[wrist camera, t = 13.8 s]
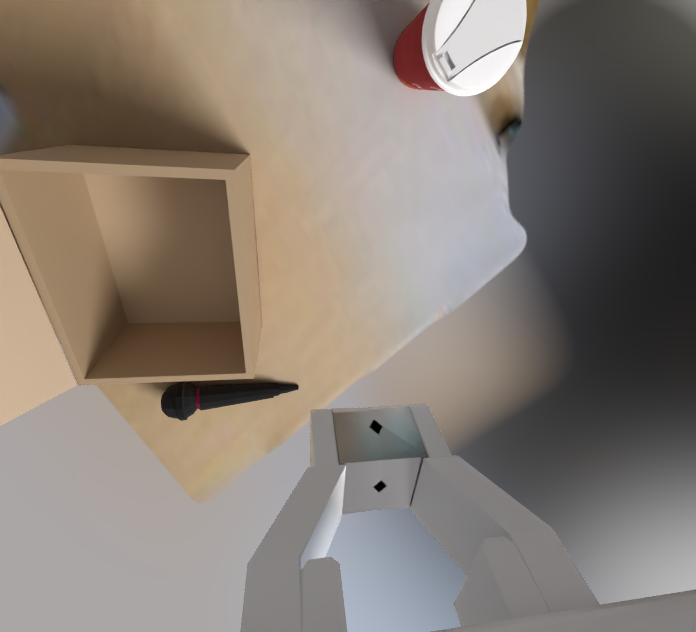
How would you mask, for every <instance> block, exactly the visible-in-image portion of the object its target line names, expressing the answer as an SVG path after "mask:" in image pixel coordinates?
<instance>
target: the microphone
mask: <svg viewBox="0 0 696 632" xmlns="http://www.w3.org/2000/svg"><path fill="white" fill-rule="evenodd" d="M294 390H298V385H278V384H273V383H262V384H244V385H226V386H207V387H199V388H198V389H195V388H194V387H193V386H192V385H190V384H187V383H186V381H179V383H178V384H175V385H172V386H170V387H168V388H167V389H166V391H165V392H164V393H163V395H162V398H161V408H162V411H163V412H164V413H165V414H166V415H167V416H168V417H172V418H178V419H179V420H181V421H182V420H187V418H188V417H189V416H191V415H192V414H193V413H194V412H195V411H196V410H197V408H198V409H200V410H206V409H212V408H217V407H223V406H229V405H234V404H240V403H246V402H251V401H257V400H262V399H268V398H274V396H278V395H279V394H282V393H287V392H290V391H294Z"/></svg>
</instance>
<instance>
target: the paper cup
mask: <svg viewBox="0 0 696 632" xmlns="http://www.w3.org/2000/svg"><path fill="white" fill-rule="evenodd" d="M525 26H526V0H431V1H430V3H429V4H428V5H427V6H426V7H425V8H424V9H423V10H422V11H421V12H420V13H419V14H418V15H417V16H416V18H415V19H414V20H413V21H412V22H411V23H410V24H409V25H408V26H407V28H406V29H405V30H404V31H403V32H402V34H401V35H400V37H399V39H398V41H397V43H396V46H395V49H394V56H393V62H394V68H395V72H396V74H397V76H398V78H399V79H400V81H401V82H402V83H403V84H405V85H406V86H408V87H410V88H413V89H419V90H437V91H446V92H449V93H451V94H453V95H458V96H470V95H476V94H478V93H481V92H483V91H485V90H487V89H488V88H490V87H491V86H493V85H494V84H495V83H496V82H498V80H499V79H500V78H501V77H502V76H503V75H504V74H505V73H506V71H507V70H508V69H509V67H510V66H511V64H512V63H513V61H514V60H515V58H516V56H517V55H518V52H519V50H520V48H521V46H522V43H523V41H522V40H523V38H524V32H525Z"/></svg>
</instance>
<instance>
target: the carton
mask: <svg viewBox="0 0 696 632" xmlns="http://www.w3.org/2000/svg"><path fill="white" fill-rule="evenodd" d="M0 202H1V205H2V207H3V209H4V212H5V214H6V217H7V219H8V221H9V224H10V226H11V228H12V231H13V233H14V235H15V238H16V240H17V242H18V245H19V247H20V249H21V252H22V254H23V256H24V259H25V261H26V264H27V266H28V268H29V271H30V273H31V275H32V278H33V280H34V282H35V285H36V287H37V289H38V292H39V294H40V296H41V299H42V301H43V303H44V306H45V308H46V311H47V313H48V315H49V318H50V320H51V322H52V325H53V327H54V329H55V332H56V334H57V336H58V339H59V341H60V343H61V346H62V348H63V350H64V353H65V355H66V357H67V360H68V362H69V364H70V367H71V369H72V371H73V374H74V376H75V379H76V381H77V383H78V385H101V384H127V383H153V382H179V381H205V380H231V379H254V375H255V368H256V361H257V354H258V347H259V341H260V334H261V327H262V316H261V302H260V287H259V273H258V259H257V244H256V230H255V216H254V202H253V187H252V173H251V159H250V154H232V153H214V152H196V151H178V150H160V149H142V148H124V147H106V146H88V145H64V146H57V147H51V148H44V149H37V150H30V151H23V152H16V153H10V154H3V155H0Z"/></svg>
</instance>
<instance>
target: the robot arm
mask: <svg viewBox="0 0 696 632" xmlns="http://www.w3.org/2000/svg"><path fill="white" fill-rule="evenodd" d="M409 507H411V508H410V510H411V511H412V512H413V513H414V515H415V516H416V517H417V518H418V519H419V520H420V522H421V523H422V524H423V525H424V526H425V527H426V529H427V530H428V531H429V532H430V533H431V534H432V536H433V537H434V538H435V539H436V540H437V542H438V543H439V544H440V545H441V546H442V547H443V549H444V550H445V551H446V552H447V553H448V554H449V555H450V557H451V558H452V559H453V560H454V561H455V563H456V564H457V565H458V566H459V567H460V568H461V570H462V571H463V572H464V573H465V574H466V575H467V577H466V579H465V581H464V584H463V585H462V587H461V590H460V592H459V594H458V596H457V598H456V600H455V602H454V606H455V608H456V612H457V615H458V618H459V621H460V624H461V627H457V628H451V629H444V630H438V631H431V632H696V590H690V591H684V592H677V593H671V594H664V595H659V596H652V597H646V598H640V599H633V600H627V601H621V602H615V603H608V604H602V605H600V604H599V602H598V601H597V599H596V597H595V596H594V594H593V593H592V591H591V590H590V588H589V586H588V585H587V583H586V581H585V580H584V578H583V577H582V575H581V573H580V572H579V570H578V569H577V567H576V565H575V564H574V562H573V561H572V559H571V557H570V556H569V554H568V553H567V551H566V550H565V548H564V546H563V545H562V543H561V541H560V540H559V538H558V536H557V535H556V533H555V532H554V530H553V529H552V528H551V527H550V526H548V525H547V524H546V523H544V522H543V521H542V520H541V519H539V518H538V517H537V516H535V515H534V514H532V513H531V512H530V511H529V510H527V509H526V508H525V507H524V506H522V505H521V504H520V503H518V502H517V501H516V500H514V499H513V498H512V497H511V496H509V495H508V494H507V493H506V492H504V491H503V490H502V489H500V488H499V487H498V486H496V485H495V484H494V483H493V482H491V481H490V480H489V479H487V478H486V477H485V476H484V475H482V474H481V473H479V472H478V471H477V470H476V469H474V468H473V467H472V466H471V465H469V464H468V463H467V462H465V461H464V460H463V459H461V458H460V457H459V456H452V455H451V454H450V451H449V449H448V447H447V445H446V443H445V440H444V439H443V436H442V434H441V432H440V430H439V428H438V426H437V423H436V421H435V419H434V417H433V415H432V413H431V411H430V409H429V407H428V405H426V404H410V405H395V406H379V407H369V408H338V409H316V410H311V415H310V467H308V468H307V470H306V471H305V473H304V474H303V476H302V478H301V479H300V481H299V482H298V484H297V486H296V488H295V489H294V490H293V492H292V494H291V495H290V497H289V499H288V500H287V502H286V503H285V505H284V507H283V508H282V510H281V511H280V513H279V515H278V516H277V518H276V519H275V521H274V523H273V524H272V526H271V528H270V529H269V531H268V533H267V534H266V535H265V537H264V539H263V540H262V542H261V543H260V545H259V547H258V548H257V550H256V551H255V553H254V555H253V556H252V558H251V559H250V561H249V563H248V566H247V575H246V585H245V594H244V603H243V613H242V622H241V632H347V626H346V617H345V608H344V599H343V591H342V582H341V573H340V564H339V563H338V562H337V561H336V560H334V559H333V558H332V557H325V556H326V554H327V551H328V549H329V546H330V544H331V542H332V539H333V536H334V534H335V532H336V529H337V527H338V525H339V522H340V520H341V517H342V514H348V513H356V512H364V511H370V510H382V509H396V508H409Z"/></svg>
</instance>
